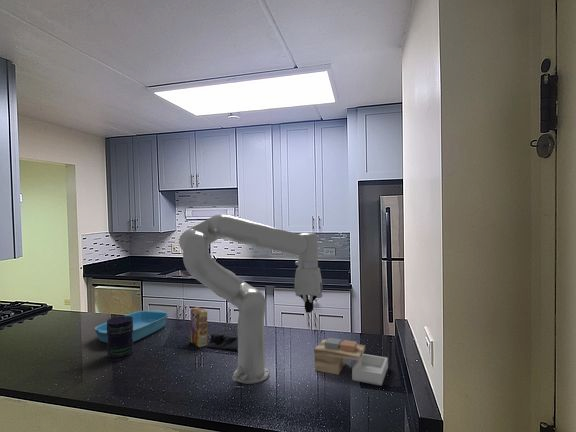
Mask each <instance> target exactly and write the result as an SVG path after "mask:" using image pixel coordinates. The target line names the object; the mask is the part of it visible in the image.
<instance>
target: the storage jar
mask: <svg viewBox="0 0 576 432" xmlns="http://www.w3.org/2000/svg"><path fill="white" fill-rule="evenodd" d="M132 320H133V317H131V316H125V315H122V316H116V317H111V318H109V319H107V321H106V322H107V335H108V343H106V346H107V348H106V352H107V360H108V361H121V360H122V359H123V360H126V359H129V358H130V357H133V355H134V342H133V339H132V332H133V321H132Z"/></svg>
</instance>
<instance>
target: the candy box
mask: <svg viewBox="0 0 576 432" xmlns="http://www.w3.org/2000/svg"><path fill="white" fill-rule="evenodd" d="M190 342H191V344H193V345H195V346H196V347H198V348H202V347H207V346H208V311H207V310H205V309H203V308H201V307H193V308H190Z"/></svg>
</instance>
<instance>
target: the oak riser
mask: <svg viewBox="0 0 576 432" xmlns="http://www.w3.org/2000/svg"><path fill="white" fill-rule="evenodd" d="M327 339H328V338H327ZM327 339H325V338H323V339H322V340H321V341H320V342H319V343H318V344H317V345H316V347H315V348H314V350H313V351H314V353H313V354H314V371H319V372H322V373H328V374H333V375H340V374H341V372H342V370H343V369H344V367H345V366H346V364H347V363H346V360H350V361H351V360H352V361H359V360H360V358H361V356H362V354H365V351H366V344H359V343H357V348H356V349H355V351H354V352H349V351H343V350H340V347H339V348H338V350H337V349H331V348H325V341H326V340H327ZM342 342H343V341H341V343H342Z"/></svg>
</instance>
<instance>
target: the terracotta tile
mask: <svg viewBox="0 0 576 432" xmlns="http://www.w3.org/2000/svg"><path fill="white" fill-rule="evenodd" d="M341 342H342V343H341V344H340V350H343V351H349V352H354V351H355V349H356V348H357V344H358V341H355V340H348V339H343V341H341Z"/></svg>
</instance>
